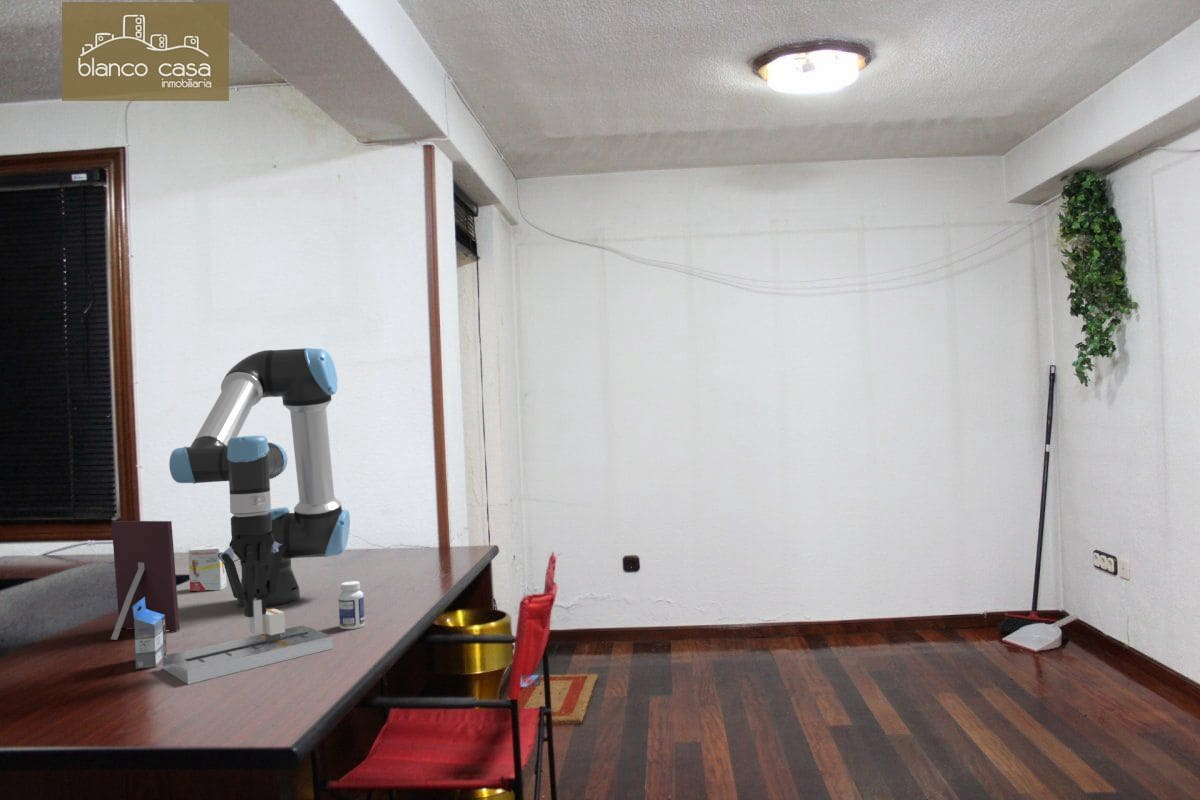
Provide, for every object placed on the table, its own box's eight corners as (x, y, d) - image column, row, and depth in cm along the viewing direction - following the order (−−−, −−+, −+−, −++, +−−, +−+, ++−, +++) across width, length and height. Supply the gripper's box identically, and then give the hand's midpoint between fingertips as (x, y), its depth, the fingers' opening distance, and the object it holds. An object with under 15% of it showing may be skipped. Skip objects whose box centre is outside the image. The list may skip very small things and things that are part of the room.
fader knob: (261, 650, 175) (259, 610, 175) (275, 647, 177) (273, 607, 177) (271, 655, 171) (269, 614, 171) (286, 651, 173) (284, 611, 173)
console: (163, 669, 166) (162, 655, 166) (302, 636, 186) (302, 624, 186) (187, 684, 156) (187, 669, 156) (333, 648, 176) (332, 635, 176)
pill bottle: (357, 622, 196) (355, 579, 196) (369, 625, 192) (367, 582, 192) (335, 627, 193) (333, 583, 193) (347, 631, 189) (345, 586, 189)
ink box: (189, 592, 238) (187, 549, 238) (195, 588, 243) (193, 546, 243) (221, 590, 239) (219, 547, 239) (227, 586, 243) (225, 544, 243)
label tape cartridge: (157, 667, 168) (154, 604, 168) (134, 670, 167) (131, 606, 167) (167, 655, 176) (164, 594, 176) (146, 657, 175) (143, 596, 175)
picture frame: (179, 630, 196) (174, 520, 196) (144, 643, 186) (138, 527, 186) (123, 627, 201) (118, 520, 201) (86, 639, 192) (81, 526, 192)
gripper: (224, 519, 165) (230, 643, 165) (290, 510, 174) (296, 628, 174) (210, 516, 170) (215, 636, 170) (275, 508, 179) (280, 622, 179)
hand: (256, 632), depth 172 cm, fingers closed
